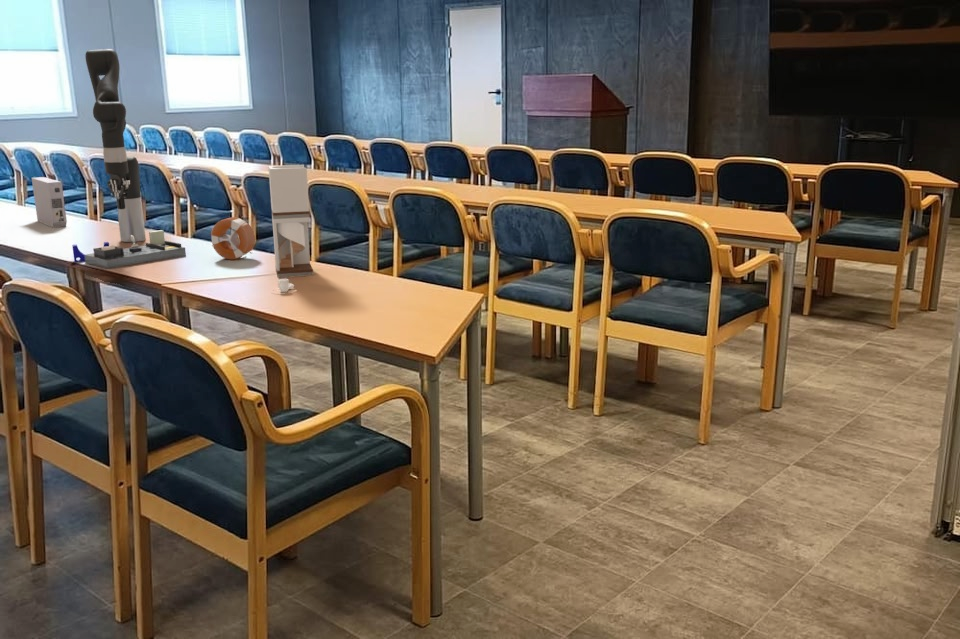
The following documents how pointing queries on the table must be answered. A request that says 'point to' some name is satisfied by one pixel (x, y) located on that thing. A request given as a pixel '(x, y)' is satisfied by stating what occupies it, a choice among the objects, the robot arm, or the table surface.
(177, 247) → the panel
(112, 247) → the button
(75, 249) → the cable clip
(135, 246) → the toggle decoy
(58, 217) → the game console
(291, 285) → the teacup and saucer
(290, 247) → the spiral ramp tower
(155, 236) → the pale green eraser block
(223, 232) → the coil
